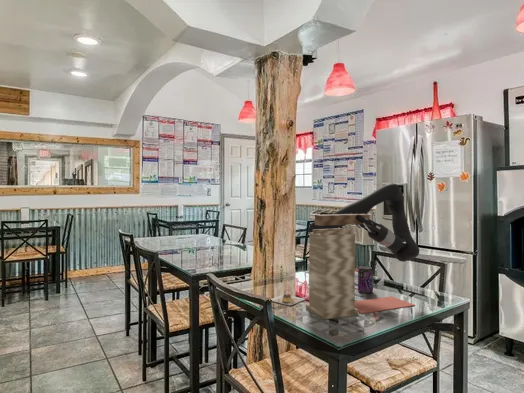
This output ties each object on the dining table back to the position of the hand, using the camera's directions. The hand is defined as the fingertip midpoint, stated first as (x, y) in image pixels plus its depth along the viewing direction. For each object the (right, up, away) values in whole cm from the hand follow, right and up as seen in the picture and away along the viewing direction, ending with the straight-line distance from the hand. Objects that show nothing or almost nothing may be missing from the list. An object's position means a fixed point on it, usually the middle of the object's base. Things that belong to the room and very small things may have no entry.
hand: (353, 215), depth 153 cm
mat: (+12, -39, +5) cm, 41 cm away
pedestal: (-10, -39, -3) cm, 40 cm away
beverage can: (+12, -39, +26) cm, 48 cm away
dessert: (-27, -39, +11) cm, 49 cm away
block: (-5, -3, -2) cm, 6 cm away
